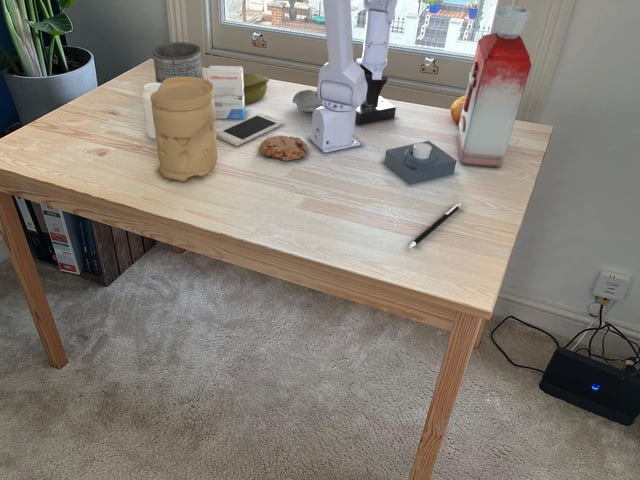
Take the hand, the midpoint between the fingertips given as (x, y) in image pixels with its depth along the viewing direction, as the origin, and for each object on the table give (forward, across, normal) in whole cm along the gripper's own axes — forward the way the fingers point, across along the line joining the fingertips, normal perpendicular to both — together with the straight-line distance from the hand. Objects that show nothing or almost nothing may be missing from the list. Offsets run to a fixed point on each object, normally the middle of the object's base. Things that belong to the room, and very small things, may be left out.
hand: (369, 97), depth 142 cm
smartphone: (+4, +10, -29) cm, 31 cm away
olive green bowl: (+5, -10, -31) cm, 33 cm away
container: (+5, +28, -42) cm, 51 cm away
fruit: (+5, +5, +23) cm, 24 cm away
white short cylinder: (0, +30, +7) cm, 31 cm away
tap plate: (+4, 0, 0) cm, 4 cm away
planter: (+5, -10, -49) cm, 50 cm away
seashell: (+5, -2, -14) cm, 15 cm away
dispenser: (+4, +27, +8) cm, 29 cm away
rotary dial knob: (+1, 0, 0) cm, 1 cm away
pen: (+4, +50, +7) cm, 50 cm away
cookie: (+5, +20, -21) cm, 30 cm away
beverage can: (+5, +12, -51) cm, 52 cm away
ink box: (+5, 0, -35) cm, 36 cm away
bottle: (+5, +20, +22) cm, 30 cm away
